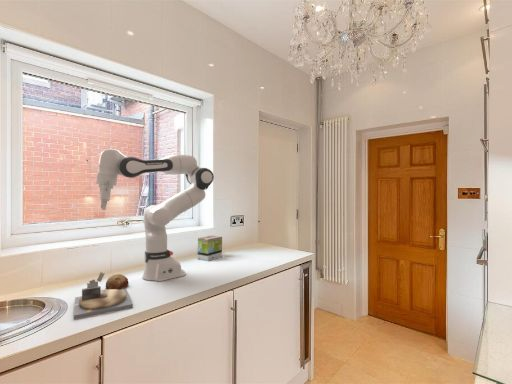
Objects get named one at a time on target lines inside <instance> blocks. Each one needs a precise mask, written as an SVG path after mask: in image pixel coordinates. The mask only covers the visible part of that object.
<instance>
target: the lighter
mask: <svg viewBox="0 0 512 384" xmlns="http://www.w3.org/2000/svg"><path fill="white" fill-rule="evenodd" d="M104 276H105V272H102V271H100V273H99V275H98V277H97V279H90V280H88V282H87V283H86V288H91V287H98V286H99V283H101V282H102V280H103V278H104Z"/></svg>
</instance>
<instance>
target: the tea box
mask: <svg viewBox="0 0 512 384" xmlns="http://www.w3.org/2000/svg"><path fill="white" fill-rule="evenodd" d="M222 257H223V236H219V235H208V236H203V237H198V238H197V257H196V258H197V260H200V261H204V262H209V261H212V260H216V259H219V258H222Z"/></svg>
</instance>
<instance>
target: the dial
mask: <svg viewBox="0 0 512 384" xmlns="http://www.w3.org/2000/svg"><path fill="white" fill-rule="evenodd" d="M81 296H82V297H81V298H80V299H79V306H80V307H82V308H86V309H98V308H105V307H109V306H113V305H116V304H118V303H120V302H122V301H123V300H124V299H125V298H126V292H125V291H123V289H121V290H118V289H108V290H107V289H101V285H98V287H91V288H87V287H86V288H85V287H84V288H81Z"/></svg>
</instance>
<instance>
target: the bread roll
mask: <svg viewBox="0 0 512 384" xmlns="http://www.w3.org/2000/svg"><path fill="white" fill-rule="evenodd" d="M129 283H130V282H129V279H128V278H127V276H126V275H124V274H112V275H111V276H110V277H108V278H107V280H106V282H105V289H104V290H108V289H118V290H123V289H127V287H128V285H129Z"/></svg>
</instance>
